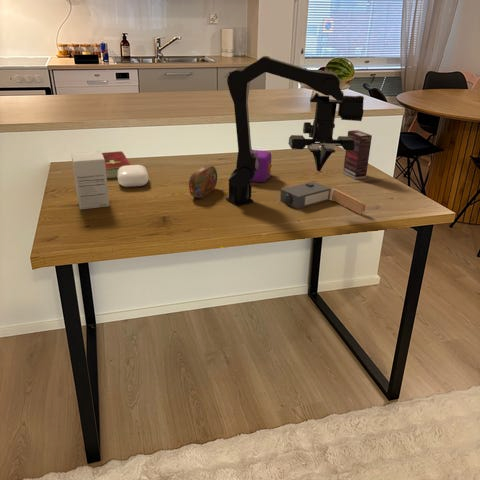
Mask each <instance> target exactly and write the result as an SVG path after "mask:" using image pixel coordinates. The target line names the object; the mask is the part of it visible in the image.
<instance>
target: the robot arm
mask: <svg viewBox="0 0 480 480" xmlns="http://www.w3.org/2000/svg"><path fill="white" fill-rule="evenodd" d="M263 74H270V75H275V76H277V77H281V78H284V79H286V80H287V79H288V80H290V81H292V82H293V81H294V82H297V83H301V84H304V85H306V86H307V87H309V88H311V89H312V90H313V91H316V92H315V94H313V95H312V96H311V97H309V101H310V103H315V111H314V119H313V123H312V122H306V121H305V122H303V125H302V126H303V127H302V133H303V134H307V135H308V137H309V138H305V137H304V136H303V134H300V135H298V134H297V135H296V134H294V135H293V134H291V135H290V136H289V137H288V145H289V147H290V149H291V150H304V149H305V148H306V147H307V149H308V150H309V152H310V153H312V156H313V159H314V163H315V167H316V172H321V171H322V169H323V167H324V165H325V164H326V162H327V160H329V158H330V156H332V154H335V153H336V150H335V148H336V147H342V149H343V150H344V151H346V150H355V145H356V144H355V141H354V140H353V139H352V138H351V137H350V136H348V135H345V136H344V135H341V136H340V135H338V137H337V138H336V139H334V138H333V134H334V129H335V127H336V124H335V120H336V113H337V117H339V118H340V120H341V121H354V122H362V120H363V116H364V100H365V97H364V95H344V90H342V89H341V88H340V85H341V84H340V83H341V82H340V78H339V77H338V74H336V73H335V72H333V71H329V70H320V69H309V68H305V67H303V66H302V67H301V66H298V65H294V64H291V63H288V62H285V61H281V60H279V59H275V58H272V57H270V56H267V55H263V56H261V57H260V58H259V59H257V61H255V62H253V63H251V64H250V65H247V66H245V67H244V68H243V67H238V68H235V69H234V70H232V71H230V73H229V75H228V76H227V78H226V80H227V82H226V84H227V87H228V91H229V94H230V96H231V99H232V102H233V107H234V117H235V118H234V120H235V127H236V137H237V139H236V141H237V142H236V143H237V151H238V153H237V158H236V164H235V165H236V166H235V169H234V170H233V171H232V172H231V174H230V177H229V178H228V197H225V200H226V201H227V202H230V203H231V204H233V205H235V206H242V205H245V204H249V203H253V202H254V199H252V187H253V186H252V185H251V184H252V181H249V180H251V179H252V178H253V177H254V175H255V172H256V171H257V169H258V166H259V163H258V160H257V158H258V153H253V151H252V150H253V148H252V141H251V127H250V126H251V125H250V115H249V103H248V100H249V93H250V86H251V85H250V84H251V81H253V80H255V79H257V78H258V77H259V76H261V75H263ZM319 93H320V94H322V95H320V94H319ZM330 96H331V97H332V98H333V99H330ZM337 105H338V107H337Z"/></svg>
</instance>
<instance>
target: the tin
mask: <svg viewBox="0 0 480 480" xmlns="http://www.w3.org/2000/svg"><path fill="white" fill-rule="evenodd" d="M217 183H218V173H217V168H216V167H215V166H213V165H205V166H203V167H201V168H200V169H197V170H196V171H194V172H193V173H192V174H191V175H190V178H189V180H188V188H189V193H190V195H191V197H192V198H198V199H202V197H203V198H204V197H206V196H207V195H208V194H210V193H211V192H213V191H214V190H215V189H216V187H217Z"/></svg>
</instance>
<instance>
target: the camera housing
mask: <svg viewBox="0 0 480 480" xmlns="http://www.w3.org/2000/svg"><path fill="white" fill-rule="evenodd" d="M331 190H332V188H331V187H328V186H327V185H324V184H322V183H319V182H316V181H309V182H305V183H300V184H296V185H291V186H289V187H284V188H280V200H279V201H280V202H282V203H283V204H285V205H288V206H290V207H292V208H294V209H297V210H298V209H302V208H305V207H309V206H314V205H317V204H320V203H323V202H326V201H327V202H328V201H331V200H330V199H331V193H332V192H331Z"/></svg>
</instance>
